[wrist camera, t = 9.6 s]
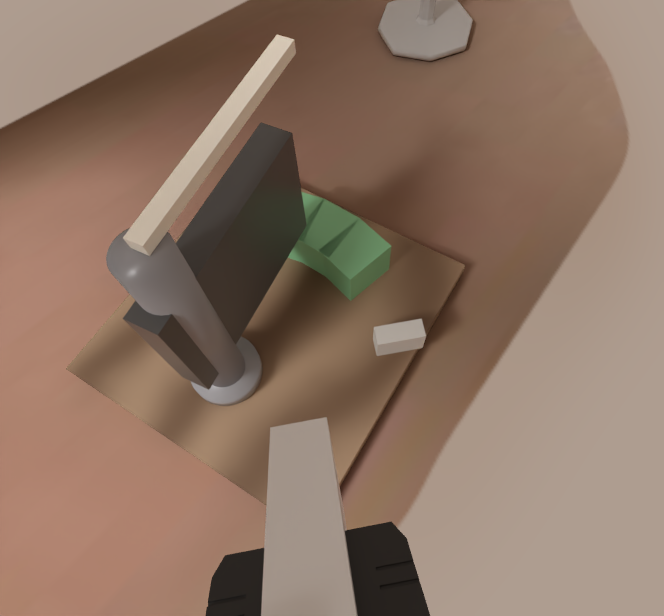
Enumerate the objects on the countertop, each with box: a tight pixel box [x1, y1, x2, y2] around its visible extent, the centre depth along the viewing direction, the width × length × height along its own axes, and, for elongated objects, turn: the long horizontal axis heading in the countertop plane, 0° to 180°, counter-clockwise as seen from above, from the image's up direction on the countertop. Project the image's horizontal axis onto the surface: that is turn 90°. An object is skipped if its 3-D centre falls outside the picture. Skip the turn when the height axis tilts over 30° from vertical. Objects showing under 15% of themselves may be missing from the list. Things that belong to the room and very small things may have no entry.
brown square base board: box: [66, 188, 465, 506], centre depth 35 cm, size 19×20×1 cm
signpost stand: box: [106, 35, 307, 406], centre depth 27 cm, size 14×4×15 cm, turn 154°
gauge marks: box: [288, 192, 426, 356], centre depth 34 cm, size 14×5×3 cm, turn 40°
